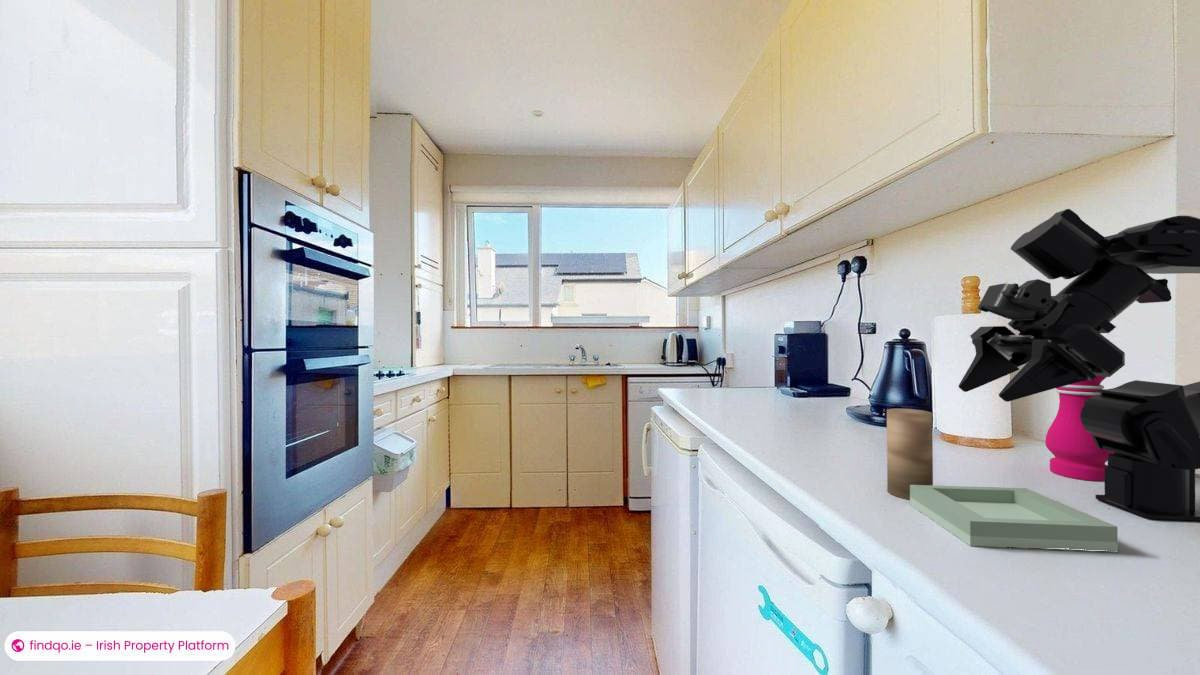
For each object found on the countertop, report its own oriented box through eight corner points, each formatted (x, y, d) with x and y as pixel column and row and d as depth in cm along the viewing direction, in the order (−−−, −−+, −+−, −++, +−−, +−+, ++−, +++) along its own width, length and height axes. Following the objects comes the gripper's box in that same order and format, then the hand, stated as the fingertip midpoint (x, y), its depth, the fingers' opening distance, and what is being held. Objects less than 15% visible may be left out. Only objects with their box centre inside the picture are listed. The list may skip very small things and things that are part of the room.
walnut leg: (919, 488, 62) (918, 408, 62) (941, 501, 57) (941, 414, 57) (880, 487, 63) (879, 408, 63) (899, 500, 58) (898, 414, 58)
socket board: (1026, 508, 55) (1025, 488, 55) (1117, 552, 44) (1117, 526, 44) (910, 504, 56) (909, 484, 56) (970, 545, 45) (970, 521, 45)
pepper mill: (1082, 468, 70) (1082, 340, 70) (1132, 483, 63) (1132, 340, 63) (1032, 467, 71) (1031, 340, 71) (1075, 482, 64) (1075, 341, 64)
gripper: (986, 271, 66) (900, 347, 68) (1088, 247, 48) (966, 352, 50) (1052, 324, 64) (962, 400, 66) (1185, 320, 46) (1053, 425, 48)
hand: (980, 393), depth 58 cm, fingers open, 9 cm apart
